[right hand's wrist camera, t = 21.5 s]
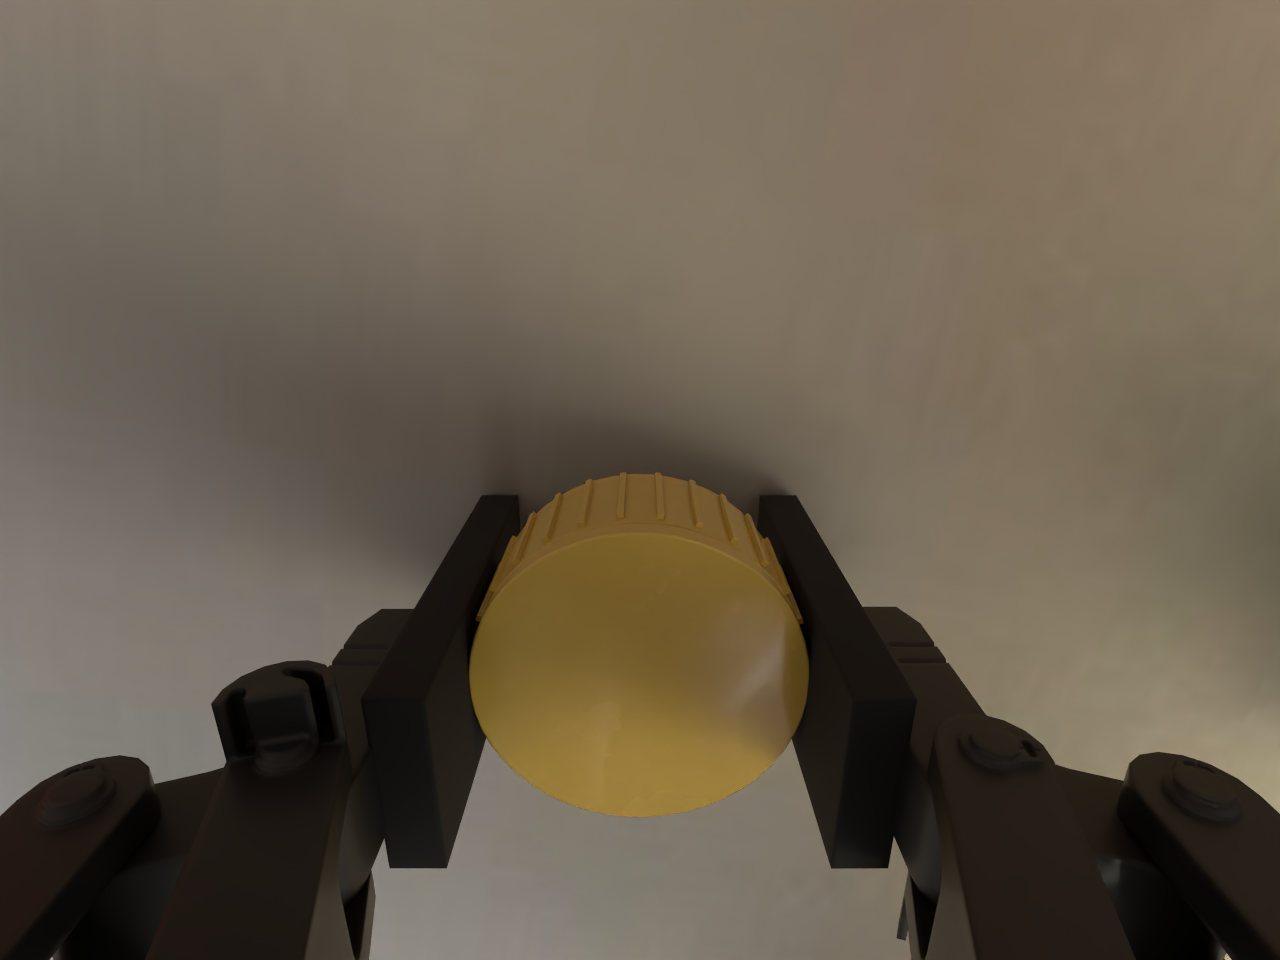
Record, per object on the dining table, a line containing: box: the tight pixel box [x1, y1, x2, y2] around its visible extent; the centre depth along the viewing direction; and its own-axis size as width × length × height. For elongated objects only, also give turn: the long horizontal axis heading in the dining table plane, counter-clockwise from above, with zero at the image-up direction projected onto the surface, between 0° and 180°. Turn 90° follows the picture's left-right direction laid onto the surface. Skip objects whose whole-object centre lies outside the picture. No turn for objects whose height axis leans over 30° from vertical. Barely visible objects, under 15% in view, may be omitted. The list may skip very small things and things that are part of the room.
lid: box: [469, 472, 810, 817], centre depth 11 cm, size 5×5×2 cm
